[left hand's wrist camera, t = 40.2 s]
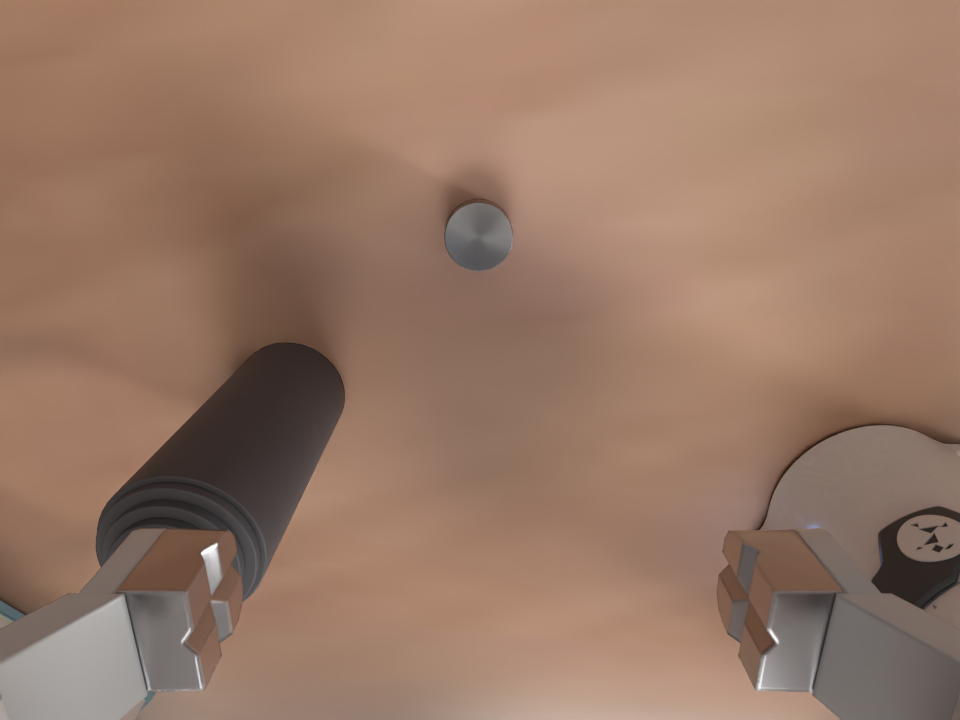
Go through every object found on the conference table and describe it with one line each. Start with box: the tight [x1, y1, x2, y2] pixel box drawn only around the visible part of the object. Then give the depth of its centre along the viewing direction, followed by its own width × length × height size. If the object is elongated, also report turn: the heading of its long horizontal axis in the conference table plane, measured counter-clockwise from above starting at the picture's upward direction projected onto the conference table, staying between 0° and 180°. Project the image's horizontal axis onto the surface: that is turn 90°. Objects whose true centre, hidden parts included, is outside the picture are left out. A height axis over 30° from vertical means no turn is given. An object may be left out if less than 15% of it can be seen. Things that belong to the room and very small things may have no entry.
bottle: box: [96, 343, 345, 601], centre depth 36 cm, size 8×8×24 cm
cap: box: [445, 199, 513, 271], centre depth 42 cm, size 4×4×2 cm
